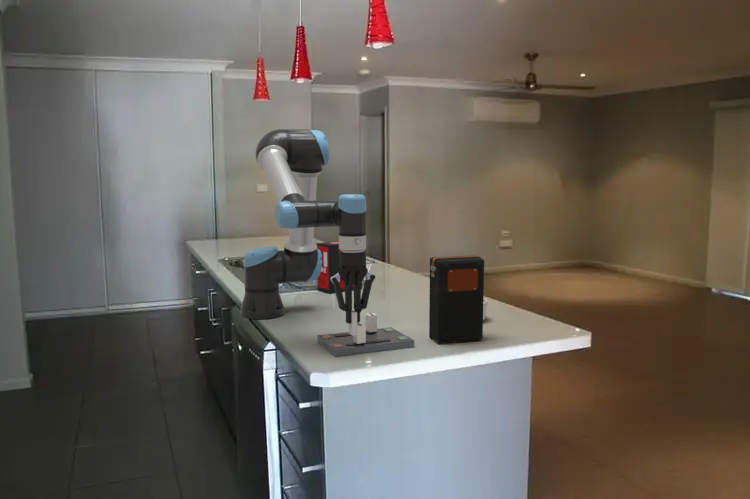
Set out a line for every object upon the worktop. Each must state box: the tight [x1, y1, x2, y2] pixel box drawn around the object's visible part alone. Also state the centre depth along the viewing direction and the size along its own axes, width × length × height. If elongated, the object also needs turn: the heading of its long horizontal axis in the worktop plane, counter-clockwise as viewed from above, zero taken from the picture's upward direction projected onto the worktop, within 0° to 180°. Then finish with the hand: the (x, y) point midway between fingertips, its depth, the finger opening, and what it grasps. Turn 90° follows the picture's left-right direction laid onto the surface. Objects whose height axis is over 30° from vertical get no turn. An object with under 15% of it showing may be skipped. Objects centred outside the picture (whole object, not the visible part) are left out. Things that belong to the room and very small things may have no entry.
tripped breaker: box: [354, 322, 366, 344], centre depth 178 cm, size 3×2×5 cm
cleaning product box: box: [316, 240, 363, 295], centre depth 265 cm, size 16×9×20 cm, turn 129°
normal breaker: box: [364, 312, 378, 332], centre depth 190 cm, size 3×2×5 cm
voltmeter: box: [428, 254, 485, 344], centre depth 188 cm, size 16×9×25 cm, turn 107°
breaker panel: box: [316, 326, 415, 358], centre depth 185 cm, size 16×24×2 cm, turn 113°
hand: (353, 334), depth 177 cm, fingers closed
